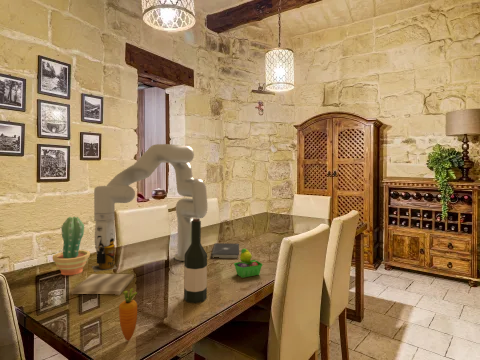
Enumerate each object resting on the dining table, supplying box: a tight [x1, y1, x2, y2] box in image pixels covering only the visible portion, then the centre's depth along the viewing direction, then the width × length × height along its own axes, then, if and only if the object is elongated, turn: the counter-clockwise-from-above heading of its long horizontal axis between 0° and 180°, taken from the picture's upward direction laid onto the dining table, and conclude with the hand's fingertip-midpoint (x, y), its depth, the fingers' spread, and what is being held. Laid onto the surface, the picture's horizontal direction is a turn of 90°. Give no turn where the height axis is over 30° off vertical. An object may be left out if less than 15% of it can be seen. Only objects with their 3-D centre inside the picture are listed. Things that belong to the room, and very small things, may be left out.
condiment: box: [91, 238, 118, 273], centre depth 127 cm, size 7×8×12 cm
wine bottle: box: [183, 218, 208, 304], centre depth 117 cm, size 8×8×30 cm
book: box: [210, 242, 240, 259], centre depth 178 cm, size 22×15×3 cm
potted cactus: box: [51, 216, 91, 276], centre depth 143 cm, size 15×15×25 cm
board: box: [70, 273, 135, 296], centre depth 128 cm, size 18×18×2 cm
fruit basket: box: [233, 248, 263, 278], centre depth 144 cm, size 11×9×11 cm
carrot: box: [118, 287, 138, 342], centre depth 89 cm, size 5×5×15 cm
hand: (104, 260), depth 128 cm, fingers closed on condiment, 6 cm apart
